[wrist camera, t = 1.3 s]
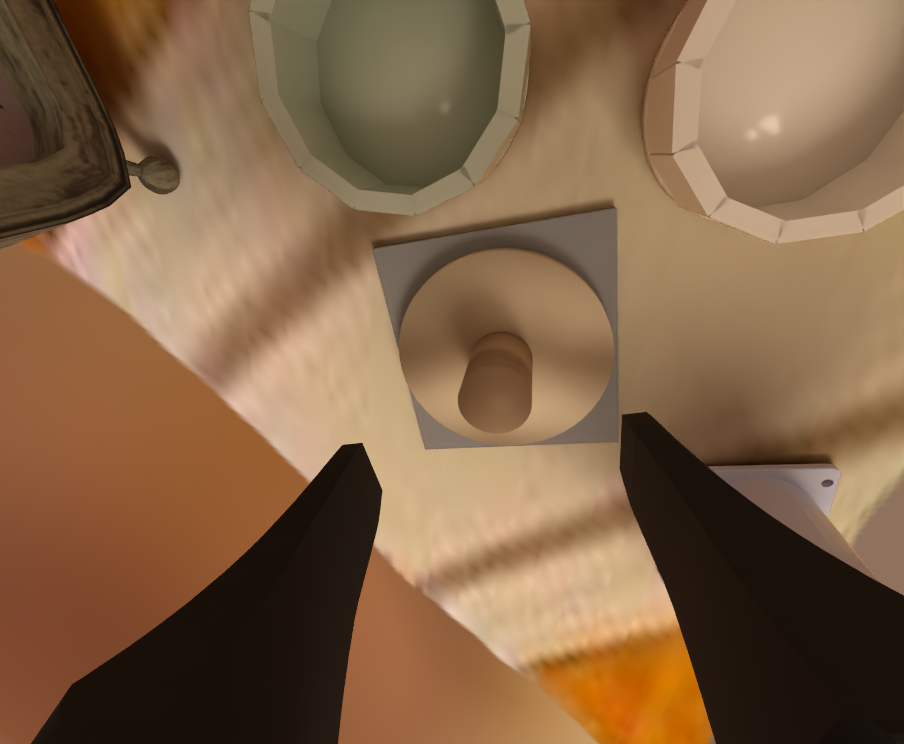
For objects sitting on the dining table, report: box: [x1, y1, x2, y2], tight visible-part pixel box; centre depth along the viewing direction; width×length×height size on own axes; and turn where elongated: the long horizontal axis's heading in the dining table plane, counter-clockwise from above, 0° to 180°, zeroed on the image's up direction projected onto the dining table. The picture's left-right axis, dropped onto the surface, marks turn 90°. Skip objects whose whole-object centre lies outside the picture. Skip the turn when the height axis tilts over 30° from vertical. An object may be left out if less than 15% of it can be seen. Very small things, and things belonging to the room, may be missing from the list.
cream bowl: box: [642, 0, 904, 244], centre depth 13 cm, size 9×9×4 cm
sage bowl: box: [249, 0, 531, 216], centre depth 15 cm, size 9×9×4 cm
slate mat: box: [372, 207, 618, 449], centre depth 21 cm, size 12×11×1 cm
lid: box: [399, 247, 614, 445], centre depth 19 cm, size 10×10×5 cm
